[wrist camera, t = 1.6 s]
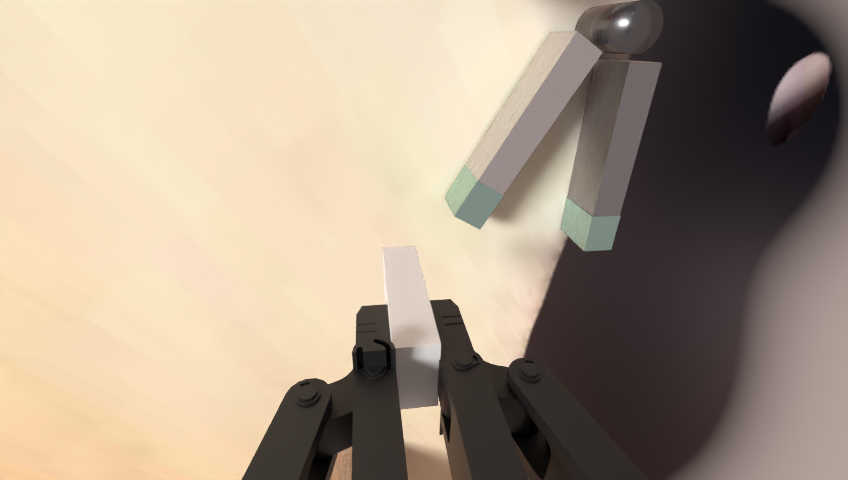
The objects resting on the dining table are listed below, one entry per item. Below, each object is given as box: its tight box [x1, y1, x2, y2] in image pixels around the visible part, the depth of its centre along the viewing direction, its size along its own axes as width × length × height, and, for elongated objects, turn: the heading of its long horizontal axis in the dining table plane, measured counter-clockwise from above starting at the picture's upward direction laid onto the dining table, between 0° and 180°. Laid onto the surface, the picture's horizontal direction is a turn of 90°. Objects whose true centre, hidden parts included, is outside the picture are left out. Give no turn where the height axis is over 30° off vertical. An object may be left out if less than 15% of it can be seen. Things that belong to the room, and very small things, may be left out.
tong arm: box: [444, 31, 603, 229], centre depth 29 cm, size 15×2×4 cm, turn 149°
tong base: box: [561, 0, 663, 251], centre depth 30 cm, size 18×5×6 cm, turn 179°
